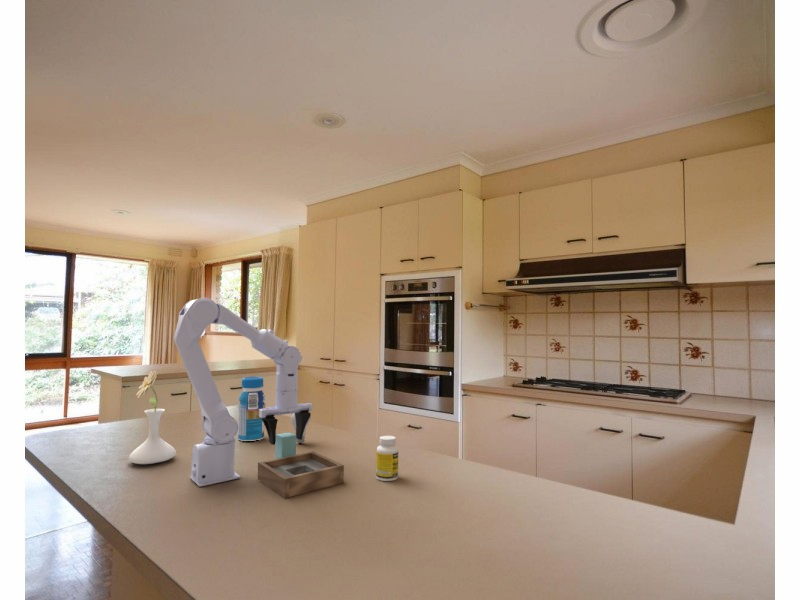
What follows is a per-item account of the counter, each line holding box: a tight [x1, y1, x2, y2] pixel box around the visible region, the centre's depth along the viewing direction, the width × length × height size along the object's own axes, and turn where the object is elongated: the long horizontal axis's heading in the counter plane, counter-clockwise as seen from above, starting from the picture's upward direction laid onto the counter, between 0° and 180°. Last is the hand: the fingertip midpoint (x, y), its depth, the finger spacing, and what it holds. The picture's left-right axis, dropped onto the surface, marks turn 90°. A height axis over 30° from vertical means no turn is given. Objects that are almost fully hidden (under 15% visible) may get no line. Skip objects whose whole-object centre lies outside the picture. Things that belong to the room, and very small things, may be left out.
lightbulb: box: [290, 413, 311, 444], centre depth 138 cm, size 6×6×11 cm
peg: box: [274, 432, 297, 459], centre depth 117 cm, size 4×4×8 cm
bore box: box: [257, 451, 345, 499], centre depth 105 cm, size 15×15×4 cm
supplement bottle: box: [375, 435, 399, 482], centre depth 107 cm, size 5×5×10 cm
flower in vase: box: [128, 370, 177, 465], centre depth 120 cm, size 13×11×25 cm
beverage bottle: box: [237, 376, 266, 441], centre depth 144 cm, size 8×8×20 cm
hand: (286, 441), depth 117 cm, fingers open, 7 cm apart
